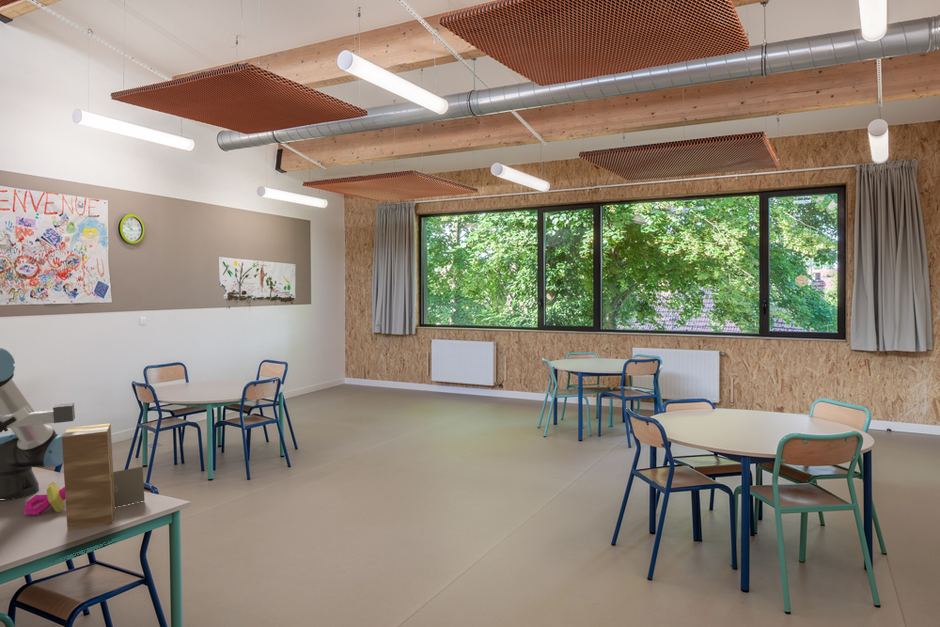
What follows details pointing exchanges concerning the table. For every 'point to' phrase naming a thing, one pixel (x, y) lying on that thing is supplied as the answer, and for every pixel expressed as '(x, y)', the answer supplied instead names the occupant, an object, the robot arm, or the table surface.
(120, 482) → the laptop
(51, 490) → the toy
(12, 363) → the robot arm
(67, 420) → the metal block
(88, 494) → the stand
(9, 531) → the table surface
